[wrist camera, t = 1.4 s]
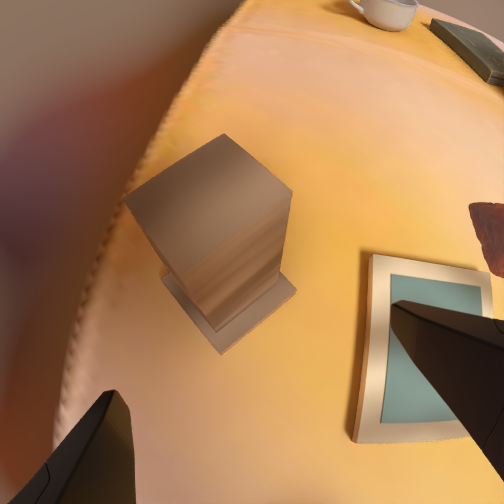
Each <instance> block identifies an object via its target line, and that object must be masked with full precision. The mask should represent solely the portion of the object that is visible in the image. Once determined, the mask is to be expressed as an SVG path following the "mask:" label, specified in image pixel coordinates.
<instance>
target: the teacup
mask: <svg viewBox="0 0 504 504" xmlns="http://www.w3.org/2000/svg"><path fill="white" fill-rule="evenodd" d="M347 1H348V2H349V3H350V4H351V5H352V6H353V7H355V8H356V9H357V10H358V12H359V13H360V14H362V15H363V16H364V17H365V18H366V20H367V21H368V22H369V23H370V24H372V25H374V26H376V27H378V28H380V29H383V30H386V31H391V32H396V31H400V30H405V29H407V28H408V27H409V26H410V25H411V23H412V20H413V18H414V15H415V12H416V9H417V7H418V6H419V4H418V2H417V1H416V0H360V5H358V4H356V3H355V2H354V1H353V0H347Z"/></svg>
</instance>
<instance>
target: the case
mask: <svg viewBox="0 0 504 504" xmlns="http://www.w3.org/2000/svg"><path fill="white" fill-rule="evenodd" d="M429 28H430V30H431V31H432V32H433V33H434V34H436V35H437V36H438V37H439V38H440V39H441V40H443V41H444V42H445V43H446V44H447V45H448V46H450V47H451V48H452V49H453V50H454V51H455V52H456V53H457V54H458V55H459V56H460V57H461V58H462V59H463V60H464V61H466V62H467V63H468V64H469V65H470V66H471V67H472V69H473V70H474V71H475V72H476V73H477V74H478V75H479V76H480V77H481V78H482V79H483V80H484V81H486V82H487V83H489V84H492V85H497V86H501V87H504V52H503V51H502V50H501V49H500V48H499V47H498V46H496V45H495V44H494V43H493V42H492V41H491V40H490V39H489V38H487V37H486V36H485V35H484V34H482V33H480V32H477V31H474V30H471V29H468V28H465V27H462V26H459V25H455V24H452V23H448V22H445V21H442V20H438V19H432V20H431V24H430V27H429Z"/></svg>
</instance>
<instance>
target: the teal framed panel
mask: <svg viewBox="0 0 504 504" xmlns="http://www.w3.org/2000/svg"><path fill="white" fill-rule="evenodd" d="M399 300H407V301H412V302H416V303H421V304H426V305H431V306H435V307H440V308H445V309H450V310H455V311H459V312H464V313H469V314H474V315H479V316H484V317H489V318H492V319H493V318H494V312H493V298H492V287H491V278H490V273H487V272H481V271H475V270H469V269H464V268H458V267H452V266H446V265H440V264H434V263H428V262H421V261H415V260H409V259H403V258H397V257H390V256H384V255H378V254H373V255H372V256H371V257H370V259H369V260H368V293H367V314H366V329H365V342H364V354H363V364H362V373H361V382H360V390H359V398H358V405H357V412H356V419H355V425H354V431H353V437H352V442H354V443H357V444H389V443H412V442H427V441H438V440H447V439H456V438H463V437H470V434H469V433H468V432H467V430H466V429H465V428H464V426H463V425H462V424H461V422H460V421H459V420H458V419H457V417H456V416H455V415H454V413H453V412H452V411H451V409H450V408H449V407H448V406H447V404H446V403H445V402H444V401H443V399H442V398H441V397H440V396H439V394H438V393H437V392H436V390H435V389H434V388H433V387H432V385H431V384H430V383H429V382H428V381H427V379H426V378H425V377H424V376H423V374H422V373H421V372H420V371H419V369H418V368H417V367H416V366H415V364H414V363H413V362H412V360H411V359H410V357H409V356H408V354H407V353H406V351H405V349H404V348H403V346H402V345H401V343H400V342H399V340H398V339H397V337H396V336H395V334H394V333H393V331H392V329H391V325H390V308H391V305H392V304H393V303H394V302H397V301H399Z"/></svg>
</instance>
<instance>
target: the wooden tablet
mask: <svg viewBox="0 0 504 504" xmlns="http://www.w3.org/2000/svg"><path fill="white" fill-rule="evenodd" d="M469 209H470V214H471V219H472V221H473V226H474V228H475V232H476V235H477V238H478V239H479V241H480V243H481V244H482V252H483V255H484V258H485V260H486V262H487V264H488V266H489V269H490V271H491V272H492V273H493V274H494V275H496V276H499V277H502V278H504V204H500V203H495V204H493V203H486V202H479V203H472V204H470V206H469Z"/></svg>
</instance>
